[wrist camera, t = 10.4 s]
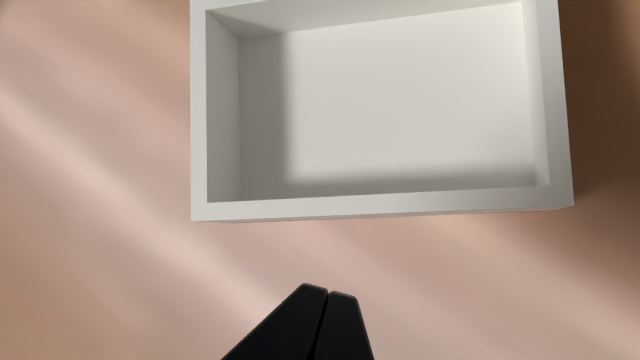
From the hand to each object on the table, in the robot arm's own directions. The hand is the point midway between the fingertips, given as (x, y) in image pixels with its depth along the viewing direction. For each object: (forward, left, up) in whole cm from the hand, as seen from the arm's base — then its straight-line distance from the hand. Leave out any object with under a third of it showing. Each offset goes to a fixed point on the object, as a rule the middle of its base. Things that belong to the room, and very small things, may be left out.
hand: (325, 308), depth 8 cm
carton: (+3, +5, -12) cm, 13 cm away
